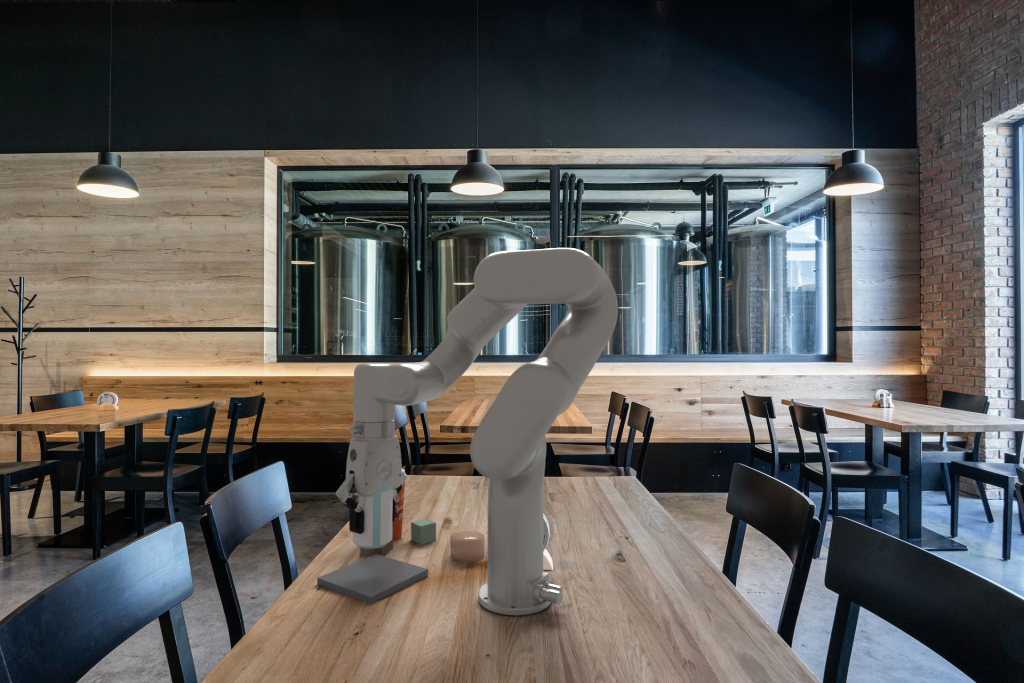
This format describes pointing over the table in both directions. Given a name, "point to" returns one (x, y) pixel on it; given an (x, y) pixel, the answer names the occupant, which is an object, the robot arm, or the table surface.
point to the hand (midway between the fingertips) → (372, 525)
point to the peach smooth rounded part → (467, 546)
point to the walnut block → (378, 549)
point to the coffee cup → (399, 513)
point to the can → (376, 519)
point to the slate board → (372, 578)
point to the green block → (423, 531)
